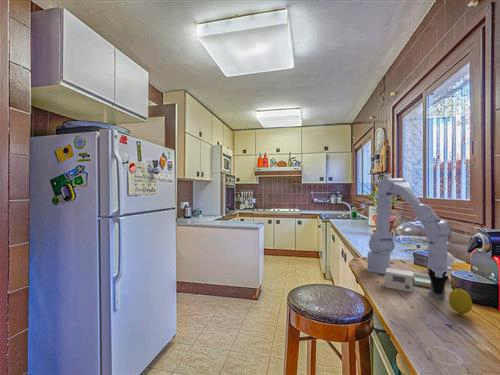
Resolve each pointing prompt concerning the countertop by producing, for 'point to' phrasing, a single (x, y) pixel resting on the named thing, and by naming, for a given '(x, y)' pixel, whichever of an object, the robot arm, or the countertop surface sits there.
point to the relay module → (437, 294)
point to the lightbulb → (449, 262)
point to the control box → (400, 279)
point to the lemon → (460, 301)
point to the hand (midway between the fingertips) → (437, 291)
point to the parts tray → (422, 280)
